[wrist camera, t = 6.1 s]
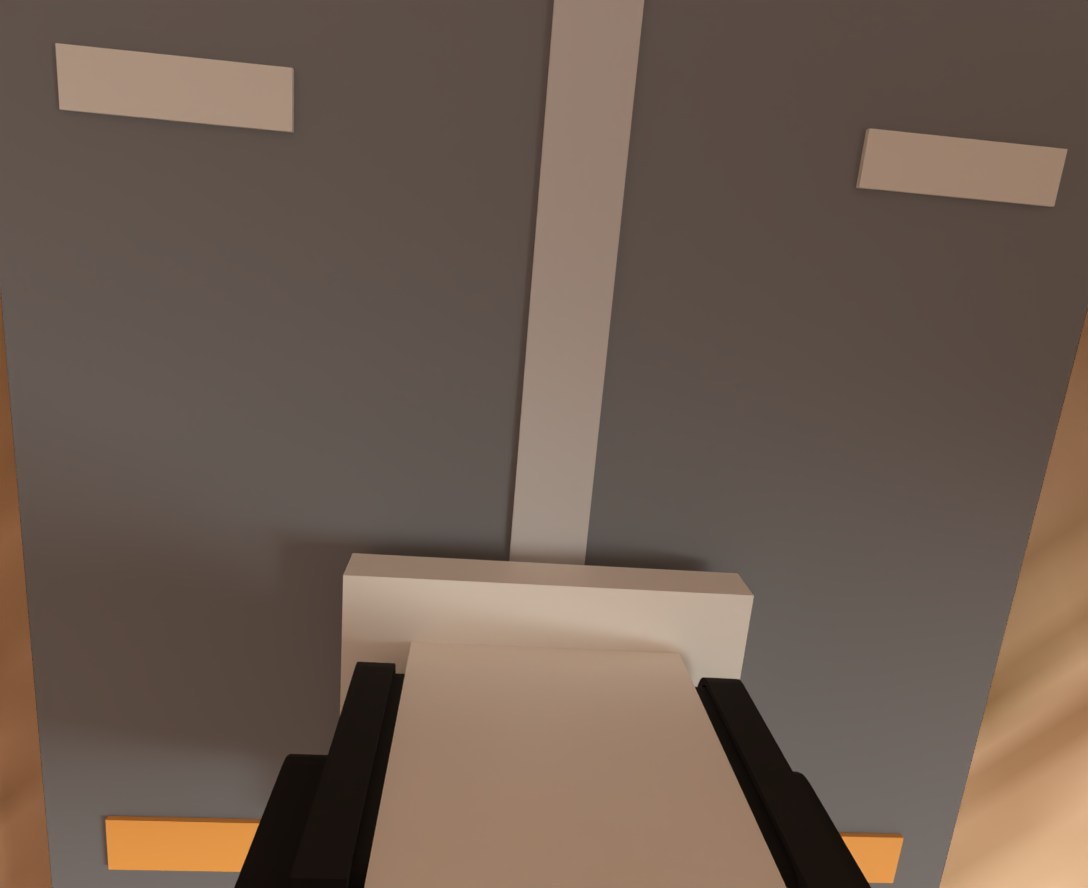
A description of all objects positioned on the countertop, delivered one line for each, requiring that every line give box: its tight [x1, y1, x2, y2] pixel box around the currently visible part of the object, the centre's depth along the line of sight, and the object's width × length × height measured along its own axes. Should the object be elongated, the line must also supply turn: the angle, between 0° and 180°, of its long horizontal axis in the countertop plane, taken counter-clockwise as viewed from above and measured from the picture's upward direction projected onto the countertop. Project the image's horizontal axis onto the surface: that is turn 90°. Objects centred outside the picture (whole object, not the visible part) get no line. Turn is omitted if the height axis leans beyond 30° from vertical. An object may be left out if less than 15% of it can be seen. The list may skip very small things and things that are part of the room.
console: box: [0, 0, 1088, 888], centre depth 14 cm, size 16×25×3 cm, turn 175°
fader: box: [340, 553, 786, 888], centre depth 10 cm, size 6×5×6 cm
